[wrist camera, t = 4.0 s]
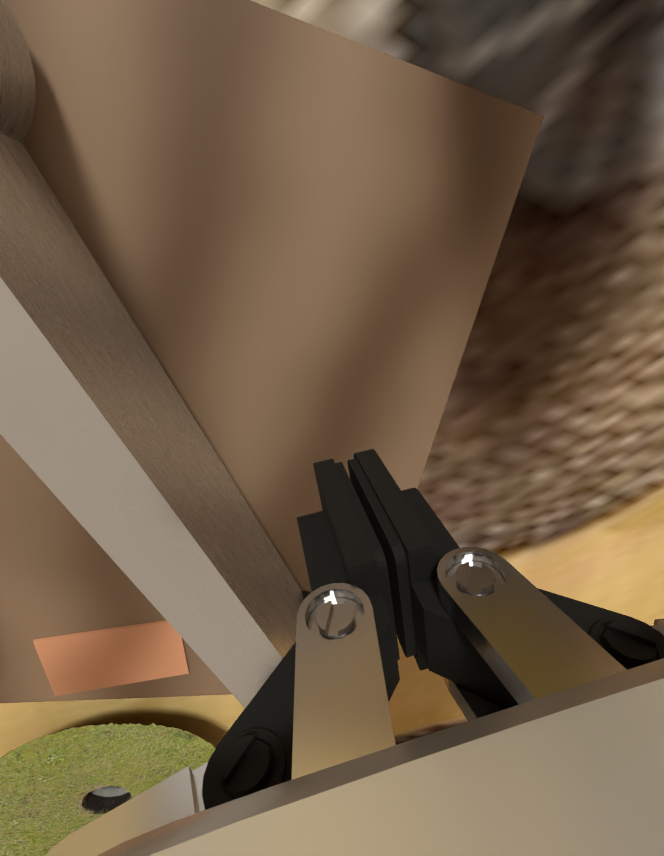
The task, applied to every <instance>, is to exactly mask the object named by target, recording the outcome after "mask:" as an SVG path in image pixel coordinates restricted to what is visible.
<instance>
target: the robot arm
mask: <svg viewBox="0 0 664 856" xmlns="http://www.w3.org/2000/svg"><path fill="white" fill-rule="evenodd" d="M347 463H348V470H349V476H350V478H349V476H348V474H347V471H346V469H345V467H344V465H343V463H342V462H338V463H335V462H334V460H333V458H332V459H328V460H324V461H320V462H316V463H313V466H314V471H315V476H316V481H317V486H318V490H319V495H320V500H321V505H322V510H323V511H319V512H315V513H312V514H308V515H304V516H300V517H297V522H298V527H299V532H300V537H301V542H302V547H303V552H304V557H305V562H306V566H307V571H308V576H309V581H310V586H311V591H312V592H311V593H310V594H309V595H308V596H307V597H306V598H305V599H304V600H303V602H302V604H301V606H300V607H299V610H298V615H297V624H296V642H295V643H294V644H293V646H292V647H291V648H290V650H289V651H288V652H287V654H286V655H285V656H284V658H283V659H282V660H281V662H280V663H279V664H278V666H277V667H276V668H275V670H274V671H273V672H272V674H271V675H270V676H269V678H268V679H267V680H266V682H265V683H264V684H263V686H262V687H261V688H260V690H259V691H258V692H257V693H256V695H255V696H254V697H253V699H252V700H251V701H250V703H249V704H248V705H247V707H246V708H245V709H244V711H243V712H242V713H241V715H240V716H239V717H238V719H237V720H236V721H235V723H234V724H233V725H232V727H231V728H230V729H229V731H228V732H227V733H226V735H225V736H224V737H223V739H222V740H221V741H220V743H219V744H218V745H217V747H216V749H215V750H214V752H213V754H212V755H211V757H210V759H209V761H208V762H207V763H205V764H204V765H202V766H200V767H199V768H197V769H195V770H193V771H191V769H190V767H189V766H187V767H186V768H184V769H182V770H181V771H179V772H177V773H175V774H174V775H172V776H170V777H168V778H167V779H165V780H163V781H161V782H160V783H158V784H156V785H154V786H153V787H151V788H149V789H148V790H146V791H144V792H142V793H141V794H139V795H137V796H135V797H134V798H132V799H130V800H128V801H127V802H125V803H123V804H122V805H120V806H118V807H116V808H115V809H113V810H111V811H109V812H108V813H106V814H104V815H102V816H101V817H99V818H97V819H95V820H94V821H92V822H90V823H89V824H87V825H85V826H83V827H82V828H80V829H78V830H76V831H75V832H73V833H71V834H69V835H68V836H67V837H66V838H64V839H63V840H62V841H60V842H59V843H58V844H57V845H55V846H54V847H53V848H52V849H51V850H50V851H49V852H48V853H47V854H46V856H664V619H655V621H654V625H653V626H649V625H648V624H646V623H644V622H642V621H639V620H637V619H634V618H632V617H629V616H626V615H623V614H619V613H616V612H613V611H610V610H606V609H603V608H600V607H596V606H593V605H590V604H587V603H583V602H580V601H577V600H574V599H570V598H567V597H564V596H561V595H557V594H554V593H551V592H548V591H544V590H541V589H538V588H536V587H535V586H534V585H533V584H532V583H531V582H529V581H528V580H527V579H526V578H525V577H524V576H523V575H522V574H521V573H520V572H518V571H517V570H516V569H515V568H514V567H513V566H512V565H511V564H510V563H509V562H507V561H506V560H505V559H504V558H502V557H501V556H499V555H498V554H497V553H494V552H492V551H489V550H487V549H483V548H477V547H462V548H459V546H458V545H457V543H456V542H455V541H454V539H453V538H452V536H451V535H450V534H449V532H448V531H447V530H446V528H445V527H444V525H443V524H442V523H441V521H440V520H439V518H438V517H437V516H436V514H435V513H434V511H433V510H432V509H431V507H430V506H429V505H428V503H427V502H426V500H425V499H424V498H423V496H422V495H421V493H420V492H419V491H418V490H417V489H416V488H410V489H406V490H402V491H401V490H400V488H399V486H398V485H397V483H396V482H395V480H394V479H393V477H392V476H391V474H390V473H389V471H388V470H387V468H386V466H385V465H384V463H383V462H382V460H381V459H380V457H379V456H378V454H377V453H376V451H375V450H374V449H370V450H366V451H361V452H357V453H354V459H351V460H348V461H347ZM396 634H397V635H396ZM397 637H398V639H399V642H400V644H401V647H402V649H403V652H404V654H405V656H406V657H410V656H413V655H414V657H415V659H416V662H417V664H418V666H419V669H420V670H424V669H427V668H428V669H429V670H430V671H432V672H434V673H436V674H438V675H440V676H442V677H444V680H445V683H446V686H447V688H448V690H449V692H450V693H451V695H452V697H453V698H454V700H455V701H456V703H457V704H458V706H459V707H460V709H461V711H462V712H463V714H464V715H465V717H466V718H467V720H468V722H465V723H462V724H459V725H456V726H453V727H450V728H446V729H443V730H440V731H437V732H434V733H431V734H428V735H425V736H422V737H419V738H416V739H413V740H410V741H407V742H404V743H401V744H398V745H396V744H395V738H394V732H393V726H392V720H391V714H390V708H389V700H390V698H391V696H392V694H393V692H394V690H395V688H396V686H397V684H398V682H399V680H400V677H399V670H398V662H397V660H399V659H400V658H399V650H398V642H397Z"/></svg>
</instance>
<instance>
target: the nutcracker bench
mask: <svg viewBox="0 0 664 856" xmlns="http://www.w3.org/2000/svg"><path fill="white" fill-rule="evenodd" d="M4 1H5V3H6V4H7V6H8V7H9V9H10V11H11V12H12V14H13V16H14V18H15V20H16V22H17V24H18V26H19V28H20V30H21V32H22V34H23V37H24V39H25V42H26V44H27V47H28V50H29V54H30V57H31V61H32V65H33V71H34V77H35V89H36V99H35V110H34V115H33V119H32V123H31V126H30V128H29V131H28V134H27V136H26V137H25V139H24V141H23V142H22V144H23V146H24V147H25V149H26V150H27V152H28V154H29V155H30V157H31V158H32V160H33V162H34V163H35V165H36V166H37V168H38V170H39V171H40V173H41V174H42V176H43V178H44V179H45V181H46V182H47V184H48V186H49V187H50V189H51V190H52V192H53V194H54V195H55V197H56V198H57V200H58V202H59V203H60V205H61V206H62V208H63V210H64V211H65V213H66V214H67V216H68V218H69V219H70V221H71V222H72V224H73V226H74V227H75V229H76V230H77V232H78V234H79V235H80V237H81V238H82V240H83V242H84V243H85V245H86V246H87V248H88V250H89V251H90V253H91V254H92V256H93V258H94V259H95V261H96V262H97V264H98V266H99V267H100V269H101V270H102V272H103V274H104V275H105V277H106V278H107V280H108V282H109V283H110V285H111V286H112V288H113V290H114V291H115V293H116V294H117V296H118V298H119V299H120V301H121V302H122V304H123V306H124V307H125V309H126V310H127V312H128V314H129V315H130V317H131V318H132V320H133V322H134V323H135V325H136V326H137V328H138V330H139V331H140V333H141V334H142V336H143V338H144V339H145V341H146V342H147V344H148V346H149V347H150V349H151V350H152V352H153V354H154V355H155V357H156V358H157V360H158V362H159V363H160V365H161V366H162V368H163V370H164V371H165V373H166V374H167V376H168V378H169V379H170V381H171V382H172V384H173V386H174V387H175V389H176V390H177V392H178V394H179V395H180V397H181V398H182V400H183V402H184V403H185V405H186V406H187V408H188V410H189V411H190V413H191V414H192V416H193V418H194V419H195V421H196V422H197V424H198V426H199V427H200V429H201V430H202V432H203V434H204V435H205V437H206V438H207V440H208V442H209V443H210V445H211V446H212V448H213V450H214V451H215V453H216V454H217V456H218V458H219V459H220V461H221V462H222V464H223V466H224V467H225V469H226V470H227V472H228V474H229V475H230V477H231V478H232V480H233V482H234V483H235V485H236V486H237V488H238V490H239V491H240V493H241V494H242V496H243V498H244V499H245V501H246V502H247V504H248V506H249V507H250V509H251V510H252V512H253V514H254V515H255V517H256V518H257V520H258V522H259V523H260V525H261V526H262V528H263V530H264V531H265V533H266V534H267V536H268V538H269V539H270V541H271V542H272V544H273V546H274V547H275V549H276V550H277V552H278V554H279V555H280V557H281V558H282V560H283V562H284V563H285V565H286V566H287V568H288V570H289V571H290V573H291V574H292V576H293V578H294V579H295V581H296V582H297V584H298V586H299V587H300V589H301V590H302V591H310V592H312V591H311V586H310V581H309V576H308V571H307V566H306V562H305V557H304V552H303V547H302V542H301V537H300V532H299V527H298V522H297V517H300V516H304V515H308V514H312V513H315V512H319V511H323V510H322V505H321V500H320V495H319V490H318V486H317V481H316V476H315V471H314V466H313V463H316V462H320V461H324V460H328V459H332V458H333V460H334V462H335V463H338V462H342V463H343V465H344V467H345V469H346V471H347V474H348V476H349V470H348V463H347V461H348V460H351V459H354V453H357V452H361V451H366V450H370V449H374V450H375V451H376V453H377V454H378V456H379V457H380V459H381V460H382V462H383V463H384V465H385V466H386V468H387V470H388V471H389V473H390V474H391V476H392V477H393V479H394V480H395V482H396V483H397V485H398V486H399V488H400V490H401V491H402V490H406V489H410V488H416V489H417V488H418V485H419V482H420V479H421V476H422V473H423V470H424V467H425V465H426V462H427V459H428V456H429V453H430V450H431V447H432V444H433V441H434V438H435V435H436V432H437V429H438V426H439V423H440V421H441V418H442V415H443V412H444V409H445V406H446V403H447V400H448V397H449V394H450V391H451V388H452V385H453V382H454V379H455V376H456V374H457V371H458V368H459V365H460V362H461V359H462V356H463V353H464V350H465V347H466V344H467V341H468V338H469V335H470V332H471V330H472V327H473V324H474V321H475V318H476V315H477V312H478V309H479V306H480V303H481V300H482V297H483V294H484V291H485V288H486V285H487V283H488V280H489V277H490V274H491V271H492V268H493V265H494V262H495V259H496V256H497V253H498V250H499V247H500V244H501V241H502V239H503V236H504V233H505V230H506V227H507V224H508V221H509V218H510V215H511V212H512V209H513V206H514V203H515V200H516V197H517V194H518V192H519V189H520V186H521V183H522V180H523V177H524V174H525V171H526V168H527V165H528V162H529V159H530V156H531V153H532V150H533V148H534V145H535V142H536V139H537V136H538V133H539V130H540V127H541V124H542V121H543V118H544V116H543V115H540V114H538V113H535V112H533V111H530V110H528V109H525V108H523V107H520V106H517V105H515V104H512V103H510V102H507V101H505V100H502V99H500V98H497V97H495V96H492V95H489V94H487V93H484V92H482V91H479V90H477V89H474V88H472V87H469V86H467V85H464V84H461V83H459V82H456V81H454V80H451V79H449V78H446V77H444V76H441V75H438V74H436V73H433V72H431V71H428V70H426V69H423V68H421V67H418V66H416V65H413V64H410V63H408V62H405V61H403V60H400V59H398V58H395V57H393V56H390V55H387V54H385V53H382V52H380V51H377V50H375V49H372V48H370V47H367V46H365V45H362V44H359V43H357V42H354V41H352V40H349V39H347V38H344V37H342V36H339V35H336V34H334V33H331V32H329V31H326V30H324V29H321V28H319V27H316V26H314V25H311V24H308V23H306V22H303V21H301V20H298V19H296V18H293V17H291V16H288V15H285V14H283V13H280V12H278V11H275V10H273V9H270V8H268V7H265V6H263V5H260V4H257V3H255V2H252V1H250V0H4ZM349 478H350V476H349ZM226 694H232V693H231V692H230V691H229V690H228V689H227V687H226V686H225V685H224V684H223V683H222V682H221V681H220V680H219V678H218V677H217V676H216V675H215V674H214V673H213V672H212V671H211V670H210V668H209V667H208V666H207V665H206V664H205V663H204V662H203V661H202V659H201V658H200V657H199V656H198V655H197V654H196V653H195V652H194V650H193V649H192V648H191V647H190V646H189V645H188V644H187V643H186V642H185V640H184V639H183V638H182V637H181V636H180V635H179V634H178V633H177V631H176V630H175V629H174V628H173V627H172V626H171V625H170V624H169V622H168V621H167V620H166V619H165V618H164V617H163V616H162V615H161V613H160V612H159V611H158V610H157V609H156V608H155V607H154V606H153V605H152V603H151V602H150V601H149V600H148V599H147V598H146V597H145V596H144V594H143V593H142V592H141V591H140V590H139V589H138V588H137V587H136V585H135V584H134V583H133V582H132V581H131V580H130V579H129V578H128V577H127V575H126V574H125V573H124V572H123V571H122V570H121V569H120V568H119V566H118V565H117V564H116V563H115V562H114V561H113V560H112V559H111V557H110V556H109V555H108V554H107V553H106V552H105V551H104V550H103V548H102V547H101V546H100V545H99V544H98V543H97V542H96V541H95V540H94V538H93V537H92V536H91V535H90V534H89V533H88V532H87V531H86V529H85V528H84V527H83V526H82V525H81V524H80V523H79V522H78V520H77V519H76V518H75V517H74V516H73V515H72V514H71V513H70V512H69V510H68V509H67V508H66V507H65V506H64V505H63V504H62V503H61V501H60V500H59V499H58V498H57V497H56V496H55V495H54V494H53V492H52V491H51V490H50V489H49V488H48V487H47V486H46V485H45V483H44V482H43V481H42V480H41V479H40V478H39V477H38V476H37V475H36V473H35V472H34V471H33V470H32V469H31V468H30V467H29V466H28V464H27V463H26V462H25V461H24V460H23V459H22V458H21V457H20V455H19V454H18V453H17V452H16V451H15V450H14V449H13V448H12V447H11V445H10V444H9V443H8V442H7V441H6V440H5V439H4V438H3V436H2V435H1V434H0V703H19V702H45V701H70V700H96V699H122V698H148V697H174V696H200V695H226Z"/></svg>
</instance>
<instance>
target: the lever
mask: <svg viewBox="0 0 664 856" xmlns="http://www.w3.org/2000/svg"><path fill="white" fill-rule="evenodd" d="M35 99H36V89H35V77H34V71H33V65H32V61H31V57H30V54H29V50H28V47H27V44H26V42H25V39H24V37H23V34H22V32H21V30H20V28H19V26H18V24H17V22H16V20H15V18H14V16H13V14H12V12H11V11H10V9H9V7H8V6H7V4H6V3H5V1H4V0H0V434H1V435H2V436H3V438H4V439H5V440H6V441H7V442H8V443H9V444H10V445H11V447H12V448H13V449H14V450H15V451H16V452H17V453H18V454H19V455H20V457H21V458H22V459H23V460H24V461H25V462H26V463H27V464H28V466H29V467H30V468H31V469H32V470H33V471H34V472H35V473H36V475H37V476H38V477H39V478H40V479H41V480H42V481H43V482H44V483H45V485H46V486H47V487H48V488H49V489H50V490H51V491H52V492H53V494H54V495H55V496H56V497H57V498H58V499H59V500H60V501H61V503H62V504H63V505H64V506H65V507H66V508H67V509H68V510H69V512H70V513H71V514H72V515H73V516H74V517H75V518H76V519H77V520H78V522H79V523H80V524H81V525H82V526H83V527H84V528H85V529H86V531H87V532H88V533H89V534H90V535H91V536H92V537H93V538H94V540H95V541H96V542H97V543H98V544H99V545H100V546H101V547H102V548H103V550H104V551H105V552H106V553H107V554H108V555H109V556H110V557H111V559H112V560H113V561H114V562H115V563H116V564H117V565H118V566H119V568H120V569H121V570H122V571H123V572H124V573H125V574H126V575H127V577H128V578H129V579H130V580H131V581H132V582H133V583H134V584H135V585H136V587H137V588H138V589H139V590H140V591H141V592H142V593H143V594H144V596H145V597H146V598H147V599H148V600H149V601H150V602H151V603H152V605H153V606H154V607H155V608H156V609H157V610H158V611H159V612H160V613H161V615H162V616H163V617H164V618H165V619H166V620H167V621H168V622H169V624H170V625H171V626H172V627H173V628H174V629H175V630H176V631H177V633H178V634H179V635H180V636H181V637H182V638H183V639H184V640H185V642H186V643H187V644H188V645H189V646H190V647H191V648H192V649H193V650H194V652H195V653H196V654H197V655H198V656H199V657H200V658H201V659H202V661H203V662H204V663H205V664H206V665H207V666H208V667H209V668H210V670H211V671H212V672H213V673H214V674H215V675H216V676H217V677H218V678H219V680H220V681H221V682H222V683H223V684H224V685H225V686H226V687H227V689H228V690H229V691H230V692H231V693H232V694H233V695H234V696H235V698H236V699H237V700H238V701H239V702H240V703H241V704H242V705H243V707H244V708H246V707H247V705H248V704H249V703H250V701H251V700H252V699H253V697H254V696H255V695H256V693H257V692H258V691H259V690H260V688H261V687H262V686H263V684H264V683H265V682H266V680H267V679H268V678H269V676H270V675H271V674H272V672H273V671H274V670H275V668H276V667H277V666H278V664H279V663H280V662H281V660H282V659H283V658H284V656H285V655H286V654H287V652H288V651H289V650H290V648H291V647H292V646H293V644H294V643H295V642H296V624H297V615H298V610H299V607H300V606H301V604H302V602H303V600H304V599H305V598H306V597H307V596H308V595H309V594H310V593H311V592H310V591H302V590H301V589H300V587H299V586H298V584H297V582H296V581H295V579H294V578H293V576H292V574H291V573H290V571H289V570H288V568H287V566H286V565H285V563H284V562H283V560H282V558H281V557H280V555H279V554H278V552H277V550H276V549H275V547H274V546H273V544H272V542H271V541H270V539H269V538H268V536H267V534H266V533H265V531H264V530H263V528H262V526H261V525H260V523H259V522H258V520H257V518H256V517H255V515H254V514H253V512H252V510H251V509H250V507H249V506H248V504H247V502H246V501H245V499H244V498H243V496H242V494H241V493H240V491H239V490H238V488H237V486H236V485H235V483H234V482H233V480H232V478H231V477H230V475H229V474H228V472H227V470H226V469H225V467H224V466H223V464H222V462H221V461H220V459H219V458H218V456H217V454H216V453H215V451H214V450H213V448H212V446H211V445H210V443H209V442H208V440H207V438H206V437H205V435H204V434H203V432H202V430H201V429H200V427H199V426H198V424H197V422H196V421H195V419H194V418H193V416H192V414H191V413H190V411H189V410H188V408H187V406H186V405H185V403H184V402H183V400H182V398H181V397H180V395H179V394H178V392H177V390H176V389H175V387H174V386H173V384H172V382H171V381H170V379H169V378H168V376H167V374H166V373H165V371H164V370H163V368H162V366H161V365H160V363H159V362H158V360H157V358H156V357H155V355H154V354H153V352H152V350H151V349H150V347H149V346H148V344H147V342H146V341H145V339H144V338H143V336H142V334H141V333H140V331H139V330H138V328H137V326H136V325H135V323H134V322H133V320H132V318H131V317H130V315H129V314H128V312H127V310H126V309H125V307H124V306H123V304H122V302H121V301H120V299H119V298H118V296H117V294H116V293H115V291H114V290H113V288H112V286H111V285H110V283H109V282H108V280H107V278H106V277H105V275H104V274H103V272H102V270H101V269H100V267H99V266H98V264H97V262H96V261H95V259H94V258H93V256H92V254H91V253H90V251H89V250H88V248H87V246H86V245H85V243H84V242H83V240H82V238H81V237H80V235H79V234H78V232H77V230H76V229H75V227H74V226H73V224H72V222H71V221H70V219H69V218H68V216H67V214H66V213H65V211H64V210H63V208H62V206H61V205H60V203H59V202H58V200H57V198H56V197H55V195H54V194H53V192H52V190H51V189H50V187H49V186H48V184H47V182H46V181H45V179H44V178H43V176H42V174H41V173H40V171H39V170H38V168H37V166H36V165H35V163H34V162H33V160H32V158H31V157H30V155H29V154H28V152H27V150H26V149H25V147H24V146H23V144H22V142H23V141H24V139H25V137H26V136H27V134H28V131H29V128H30V126H31V123H32V119H33V115H34V110H35Z"/></svg>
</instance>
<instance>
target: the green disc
mask: <svg viewBox="0 0 664 856" xmlns="http://www.w3.org/2000/svg"><path fill="white" fill-rule="evenodd" d="M215 749H216V748H215V747H214V746H213V745H212V744H211V743H209V742H207V741H205V740H204V739H202V738H200V737H198V736H196V735H193V734H192V733H190V732H188V731H182V730H181V729H178V728H174V727H165V726H162V725H159V726H157V725H156V724H154V723H152V724H151V725H146V726H144V725H141V724H131V723H130V724H129V725H128V724H121V725H118V724H116V723H115V724H113V723H110V724H108V725H105V724H102V725H97V726H95V725H88V726H82V727H78V728H75V727H72V728H70V729H65V730H63V731H60V732H57V733H55V734H51V735H46V736H44V737H42V738H39V739H35V740H32V741H30V742H28V743H26V744H24V745H22V746H20V747H18V748H16V749H15V750H11V751H10V752H8V753H7V754H6V755H4V756H3V757H2V758H0V856H46V854H47V853H48V852H49V851H50V850H51V849H52V848H53V847H54V846H55V845H57V844H58V843H59V842H60V841H62V840H63V839H64V838H66V837H67V836H68V835H69V834H71V833H73V832H75V831H76V830H78V829H80V828H82V827H83V826H85V825H87V824H89V823H90V822H92V821H94V820H95V819H97V818H99V817H101V816H102V815H104V814H106V813H108V812H109V811H111V810H113V809H115V808H116V807H118V806H120V805H122V804H123V803H125V802H127V801H128V800H130V799H132V798H134V797H135V796H137V795H139V794H141V793H142V792H144V791H146V790H148V789H149V788H151V787H153V786H154V785H156V784H158V783H160V782H161V781H163V780H165V779H167V778H168V777H170V776H172V775H174V774H175V773H177V772H179V771H181V770H182V769H184V768H186V767H187V766H189V767H190V769H191V771H193V770H195V769H197V768H199V767H200V766H202V765H204V764H205V763H207V762H208V761H209V759H210V757H211V755H212V754H213V752H214V750H215Z"/></svg>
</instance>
